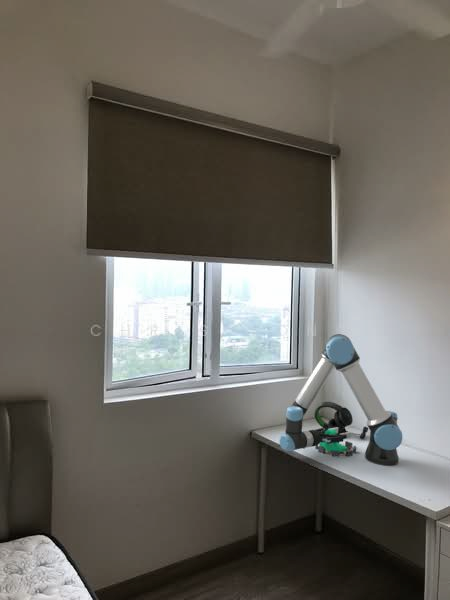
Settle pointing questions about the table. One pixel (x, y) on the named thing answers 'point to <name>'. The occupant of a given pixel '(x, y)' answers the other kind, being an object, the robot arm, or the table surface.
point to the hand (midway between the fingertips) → (343, 432)
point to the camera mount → (333, 446)
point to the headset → (337, 418)
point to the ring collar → (338, 453)
